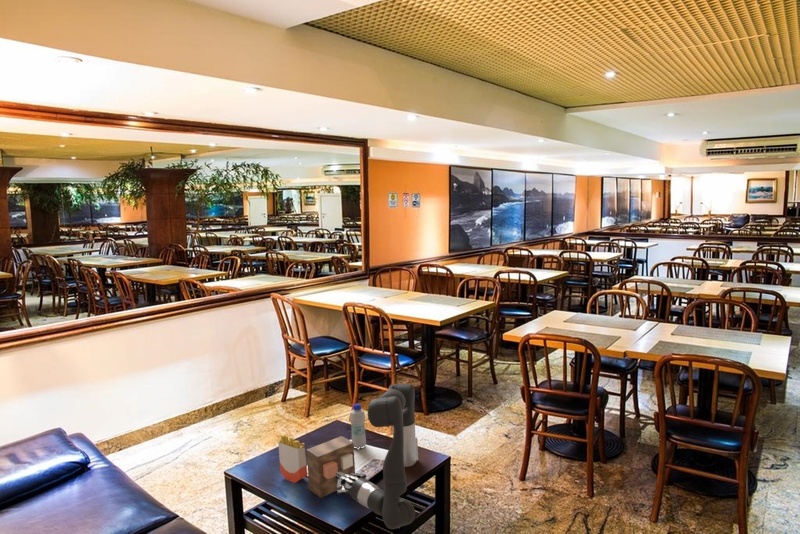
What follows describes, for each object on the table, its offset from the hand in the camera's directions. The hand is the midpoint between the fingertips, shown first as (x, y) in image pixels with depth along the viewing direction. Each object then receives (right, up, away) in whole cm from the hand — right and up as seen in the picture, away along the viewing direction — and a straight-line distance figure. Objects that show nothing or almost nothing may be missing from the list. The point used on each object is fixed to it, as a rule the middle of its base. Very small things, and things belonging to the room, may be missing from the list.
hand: (337, 474), depth 191 cm
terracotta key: (-3, -2, +4) cm, 6 cm away
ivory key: (+2, -1, +10) cm, 11 cm away
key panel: (-3, -9, +12) cm, 15 cm away
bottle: (+4, -5, +42) cm, 42 cm away
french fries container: (-19, -9, +18) cm, 27 cm away
